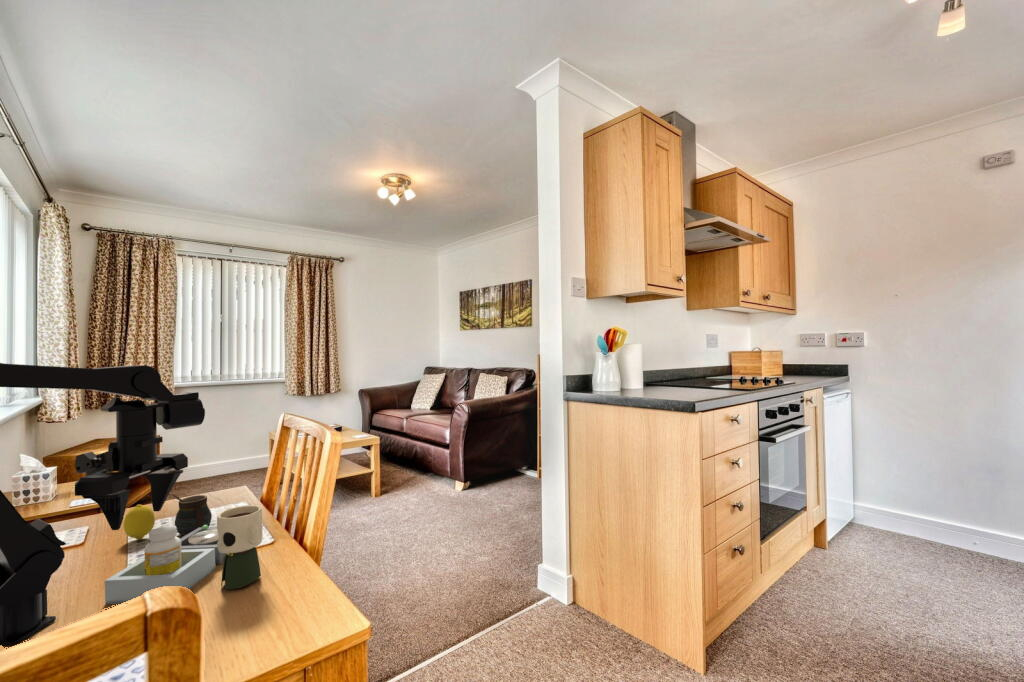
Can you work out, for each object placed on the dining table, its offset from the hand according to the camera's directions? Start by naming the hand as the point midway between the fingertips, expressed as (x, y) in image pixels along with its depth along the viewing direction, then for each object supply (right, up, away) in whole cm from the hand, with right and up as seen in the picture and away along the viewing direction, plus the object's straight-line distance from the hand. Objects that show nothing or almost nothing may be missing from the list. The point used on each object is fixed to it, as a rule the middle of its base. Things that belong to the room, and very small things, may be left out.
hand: (137, 519), depth 84 cm
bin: (+5, -12, 0) cm, 13 cm away
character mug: (+19, -12, 0) cm, 22 cm away
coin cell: (+4, -10, +13) cm, 17 cm away
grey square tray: (+5, -12, +13) cm, 18 cm away
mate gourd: (-7, -13, +25) cm, 28 cm away
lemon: (-17, -13, +21) cm, 30 cm away
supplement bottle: (+5, -12, 0) cm, 13 cm away
